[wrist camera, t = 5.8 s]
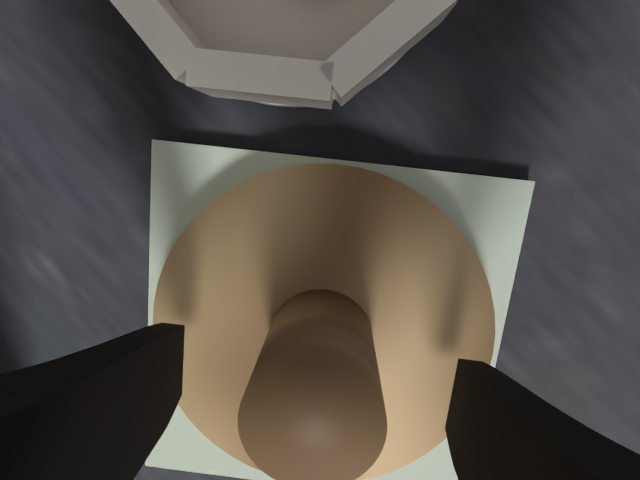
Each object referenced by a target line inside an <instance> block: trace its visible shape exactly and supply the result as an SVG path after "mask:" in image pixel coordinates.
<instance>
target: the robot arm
mask: <svg viewBox="0 0 640 480" xmlns="http://www.w3.org/2000/svg"><path fill="white" fill-rule="evenodd" d="M184 334H185V325H179V324H171V323H163V322H162V323H157V324H154V325H150V326H147V327H144V328H141V329H139V330H136V331H133V332H131V333H128V334H125V335H123V336H120V337H117V338H115V339H112V340H109V341H107V342H104V343H101V344H99V345H96V346H93V347H90V348H87V349H84V350H81V351H78V352H75V353H73V354H70V355H67V356H64V357H61V358H58V359H55V360H51V361H48V362H45V363H41V364H38V365H34V366H30V367H26V368H22V369H19V370H15V371H11V372H7V373H2V374H0V480H133V479H134V478H135V476H136V475H137V473H138V472H139V470H140V469H141V467H142V465H143V464H144V462H145V461H146V459H147V458H148V456H149V455H150V453H151V452H152V450H153V449H154V447H155V445H156V444H157V442H158V441H159V439H160V438H161V436H162V434H163V433H164V431H165V430H166V428H167V426H168V424H169V422H170V420H171V418H172V416H173V414H174V412H175V409H176V407H177V405H178V403H179V400H180V398H181V396H182V383H183V358H184ZM445 431H446V436H447V440H448V445H449V450H450V454H451V458H452V462H453V466H454V469H455V472H456V475H457V477H458V480H640V455H639V454H637V453H635V452H633V451H631V450H630V449H628V448H626V447H624V446H622V445H620V444H618V443H616V442H614V441H612V440H610V439H608V438H606V437H604V436H603V435H601V434H599V433H597V432H595V431H594V430H592V429H590V428H588V427H587V426H585V425H583V424H582V423H580V422H578V421H577V420H575V419H573V418H572V417H570V416H568V415H567V414H565V413H563V412H562V411H560V410H559V409H557V408H555V407H554V406H552V405H551V404H549V403H548V402H546V401H545V400H543V399H541V398H540V397H538V396H537V395H535V394H534V393H532V392H531V391H529V390H528V389H526V388H525V387H523V386H522V385H520V384H519V383H517V382H516V381H514V380H513V379H511V378H510V377H508V376H507V375H505V374H504V373H502V372H501V371H499V370H497V369H496V368H494V367H492V366H491V365H489V364H487V363H485V362H483V361H476V360H468V359H460V358H458V363H457V368H456V373H455V378H454V383H453V389H452V394H451V399H450V404H449V409H448V414H447V420H446V425H445Z"/></svg>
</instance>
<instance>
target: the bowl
mask: <svg viewBox="0 0 640 480" xmlns="http://www.w3.org/2000/svg"><path fill="white" fill-rule="evenodd" d="M110 1H111V3H112V4H113V5H114V6H115V7H116V9H117V10H118V11H119V12H120V13H121V15H122V16H123V17H124V18H125V20H126V21H127V22H128V23H129V24H130V26H131V27H132V28H133V29H134V30H135V32H136V33H137V34H138V35H139V37H140V38H141V39H142V40H143V41H144V43H145V44H146V45H147V46H148V47H149V49H150V50H151V51H152V52H153V54H154V55H155V56H156V57H157V58H158V60H159V61H160V62H161V63H162V65H163V66H164V67H165V68H166V69H167V71H168V72H169V73H170V74H171V75H172V77H173V78H174V79H175V80H177V81H179V82H181V83H184V84H186V86H188V87H190V88H192V89H195V90H197V91H200V92H202V93H205V94H207V95H209V96H212V97H219V98H228V99H237V100H247V101H252V102H255V103H258V104H264V105H269V106H275V107H292V108H298V107H312V108H322V109H331V110H332V104H333V101H336V100H337V102H338V103H339V104H340V106H343V105H344V104H345V103H346V102H347V101H349V100H350V99H351V98H352V97H353V96H355V95H356V94H357V93H358V92H359V91H360V90H362V89H363V88H365V87H366V86H368V85H370V84H371V83H373V82H374V81H375V80H377V79H378V78H379V77H381V76H382V75H383V74H385V73H386V72H387V71H388V70H389V69H390V68H391V67H392V66H394V65H395V64H396V63H397V62H398V61H399V60H400V59H401V58H402V57H403V55H404V54H405V53H406V52H407V51H408V50H409V49H411V48H412V47H413V46H414V45H415V44H416V43H418V42H419V41H420V40H421V39H422V38H424V37H425V36H426V35H427V34H428V33H430V32H431V31H432V30H433V29H434V28H436V27H437V26H438V25H439V24H440V23H441V22H442V21H443V20H444V19H445V17H446V16H447V15H448V13H449V12H450V11H451V10H452V8H453V7H454V6H455V5H456V3H457V2H458V1H459V0H110Z"/></svg>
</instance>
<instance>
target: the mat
mask: <svg viewBox="0 0 640 480" xmlns="http://www.w3.org/2000/svg"><path fill="white" fill-rule="evenodd" d="M305 164H340V165H347V166H354V167H359V168H363V169H366V170H370V171H373V172H377V173H380V174H383V175H385V176H387V177H389V178H392V179H394V180H396V181H399V182H401V183H403V184H404V185H406V186H408V187H409V188H411V189H413V190H414V191H416V192H418V193H419V194H421V195H422V196H424V197H426V198H427V199H428V200H429V201H431V202H432V203H433V204H434V205H436V206H437V207H438V208H439V209H441V210H442V211H443V212H444V213H445V214H446V215H447V216H448V217H449V218H450V219H451V220H452V221H453V222H454V224H455V225H456V226H457V227H458V228H459V229H460V230H461V231H462V233H463V234H464V236H465V237H466V239H467V240H468V241H469V243H470V244H471V246H472V247H473V249H474V251H475V253H476V255H477V257H478V259H479V261H480V263H481V265H482V267H483V268H484V271H485V274H486V277H487V280H488V283H489V286H490V289H491V294H492V300H493V305H494V311H495V341H494V350H493V356H492V360H491V364H490V365H491V366H492V367H494V368H495V366H496V361H497V356H498V352H499V347H500V342H501V338H502V333H503V329H504V324H505V319H506V315H507V310H508V305H509V301H510V296H511V291H512V287H513V282H514V277H515V273H516V268H517V263H518V259H519V254H520V250H521V245H522V240H523V236H524V231H525V226H526V222H527V217H528V212H529V208H530V203H531V198H532V194H533V189H534V184H535V182H534V181H528V180H519V179H510V178H501V177H492V176H483V175H473V174H464V173H455V172H446V171H437V170H428V169H419V168H410V167H401V166H391V165H382V164H373V163H364V162H355V161H346V160H337V159H328V158H319V157H309V156H300V155H291V154H282V153H273V152H264V151H255V150H246V149H237V148H227V147H218V146H209V145H200V144H191V143H182V142H173V141H164V140H152V150H151V200H150V250H149V300H148V326H150V325H153V310H154V299H155V294H156V289H157V284H158V280H159V277H160V275H161V272H162V269H163V266H164V263H165V261H166V259H167V257H168V255H169V253H170V251H171V249H172V247H173V245H174V244H175V242H176V240H177V239H178V238H179V236H180V235H181V233H182V232H183V231H184V229H185V228H186V227H187V225H188V224H189V223H190V222H191V221H192V220H193V219H194V218H195V217H196V216H197V215H198V214H199V213H200V211H201V210H202V209H203V208H205V207H206V206H207V205H208V204H210V203H211V202H212V201H214V200H215V199H216V198H217V197H219V196H220V195H221V194H223V193H225V192H226V191H228V190H230V189H231V188H233V187H235V186H237V185H238V184H240V183H242V182H244V181H247V180H249V179H252V178H254V177H256V176H259V175H261V174H264V173H267V172H270V171H274V170H278V169H282V168H285V167H289V166H297V165H305ZM145 466H151V467H159V468H166V469H174V470H182V471H189V472H197V473H205V474H212V475H220V476H228V477H235V478H243V479H251V480H275V479H273V478H271V477H270V476H268V475H267V474H265V473H264V472H263V471H260V470H258V469H255V468H253V467H250V466H248V465H246V464H245V463H243V462H241V461H239V460H237V459H235V458H233V457H232V456H230V455H229V454H227V453H226V452H224V451H223V450H222V449H220V448H219V447H217V446H216V445H215V444H213V443H212V442H211V441H210V440H209V439H208V438H207V437H206V436H204V435H203V434H202V433H201V432H200V431H199V430H198V429H197V428H196V427H195V425H194V424H193V423H192V422H191V421H190V420H189V419H188V418H187V416H186V415H185V413H184V412H183V411H182V409H181V408H180V406H179V405H177V407H176V409H175V412H174V414H173V416H172V418H171V420H170V422H169V424H168V426H167V428H166V430H165V431H164V433H163V434H162V436H161V438H160V439H159V441H158V442H157V444H156V445H155V447H154V449H153V450H152V452H151V453H150V455H149V456H148V458H147V459H146V461H145ZM365 480H458V477H457V475H456V472H455V469H454V466H453V462H452V458H451V454H450V450H449V445H448V440H447V438H446V439H445V440H444V441H443V442H441V443H440V444H439V445H437V446H436V447H435V448H433V449H432V450H431V451H429V452H428V453H427V454H425V455H424V456H422V457H420V458H419V459H417V460H415V461H413V462H412V463H410V464H408V465H406V466H404V467H401V468H399V469H397V470H394V471H392V472H390V473H387V474H383V475H380V476H377V477H373V478H370V479H365Z"/></svg>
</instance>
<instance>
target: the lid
mask: <svg viewBox="0 0 640 480" xmlns="http://www.w3.org/2000/svg"><path fill="white" fill-rule="evenodd" d="M162 322H163V323H171V324H179V325H185V334H184V358H183V383H182V396H181V398H180V400H179V403H178V405H179V406H180V408H181V409H182V411H183V412H184V413H185V415H186V416H187V418H188V419H189V420H190V421H191V422H192V423H193V424H194V425H195V427H196V428H197V429H198V430H199V431H200V432H201V433H202V434H203V435H204V436H206V437H207V438H208V439H209V440H210V441H211V442H212V443H213V444H215V445H216V446H217V447H219V448H220V449H222V450H223V451H224V452H226V453H227V454H229V455H230V456H232V457H233V458H235V459H237V460H239V461H241V462H243V463H245V464H246V465H248V466H250V467H253V468H255V469H258V470H260V471H263V472H264V473H265V474H267V475H268V476H270V477H271V478H273V479H275V480H365V479H370V478H373V477H377V476H380V475H383V474H387V473H390V472H392V471H394V470H397V469H399V468H401V467H404V466H406V465H408V464H410V463H412V462H413V461H415V460H417V459H419V458H420V457H422V456H424V455H425V454H427V453H428V452H429V451H431V450H432V449H433V448H435V447H436V446H437V445H439V444H440V443H441V442H443V441H444V440H445V439H446V438H447V436H446V431H445V425H446V420H447V414H448V409H449V404H450V399H451V394H452V389H453V383H454V378H455V373H456V368H457V363H458V358H460V359H468V360H476V361H483V362H485V363H487V364H489V365H490V364H491V360H492V356H493V350H494V341H495V311H494V305H493V300H492V294H491V289H490V286H489V283H488V280H487V277H486V274H485V271H484V268H483V267H482V265H481V263H480V261H479V259H478V257H477V255H476V253H475V251H474V249H473V247H472V246H471V244H470V243H469V241H468V240H467V239H466V237H465V236H464V234H463V233H462V231H461V230H460V229H459V228H458V227H457V226H456V225H455V224H454V222H453V221H452V220H451V219H450V218H449V217H448V216H447V215H446V214H445V213H444V212H443V211H442V210H441V209H439V208H438V207H437V206H436V205H434V204H433V203H432V202H431V201H429V200H428V199H427V198H426V197H424V196H422V195H421V194H419V193H418V192H416V191H414V190H413V189H411V188H409V187H408V186H406V185H404V184H403V183H401V182H399V181H396V180H394V179H392V178H389V177H387V176H385V175H383V174H380V173H377V172H373V171H370V170H366V169H363V168H359V167H354V166H347V165H340V164H305V165H297V166H289V167H285V168H282V169H278V170H274V171H270V172H267V173H264V174H261V175H259V176H256V177H254V178H252V179H249V180H247V181H244V182H242V183H240V184H238V185H237V186H235V187H233V188H231V189H230V190H228V191H226V192H225V193H223V194H221V195H220V196H219V197H217V198H216V199H215V200H214V201H212V202H211V203H210V204H208V205H207V206H206V207H205V208H203V209H202V210H201V211H200V213H199V214H198V215H197V216H196V217H195V218H194V219H193V220H192V221H191V222H190V223H189V224H188V225H187V227H186V228H185V229H184V231H183V232H182V233H181V235H180V236H179V238H178V239H177V240H176V242H175V244H174V245H173V247H172V249H171V251H170V253H169V255H168V257H167V259H166V261H165V263H164V266H163V269H162V272H161V275H160V277H159V280H158V284H157V289H156V294H155V299H154V310H153V325H154V324H157V323H162Z"/></svg>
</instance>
